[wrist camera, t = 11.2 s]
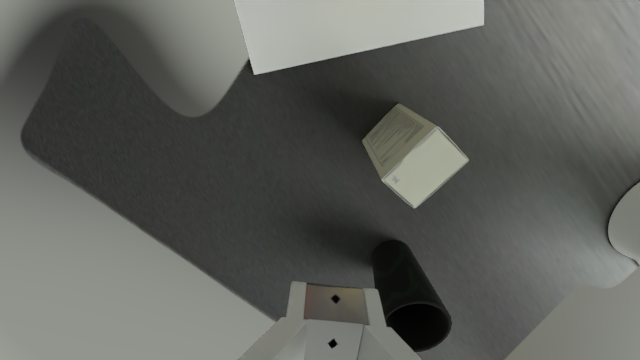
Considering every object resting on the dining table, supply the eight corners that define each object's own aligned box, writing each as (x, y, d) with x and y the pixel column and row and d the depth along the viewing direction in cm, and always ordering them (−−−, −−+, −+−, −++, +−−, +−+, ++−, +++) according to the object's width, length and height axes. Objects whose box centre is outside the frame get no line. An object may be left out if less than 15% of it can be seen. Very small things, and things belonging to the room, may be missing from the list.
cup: (401, 224, 41) (430, 289, 30) (428, 260, 44) (464, 333, 33) (354, 252, 43) (365, 323, 32) (383, 285, 46) (402, 362, 35)
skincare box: (385, 163, 38) (412, 213, 26) (360, 140, 36) (377, 182, 25) (425, 124, 36) (473, 161, 24) (400, 99, 34) (438, 125, 23)
